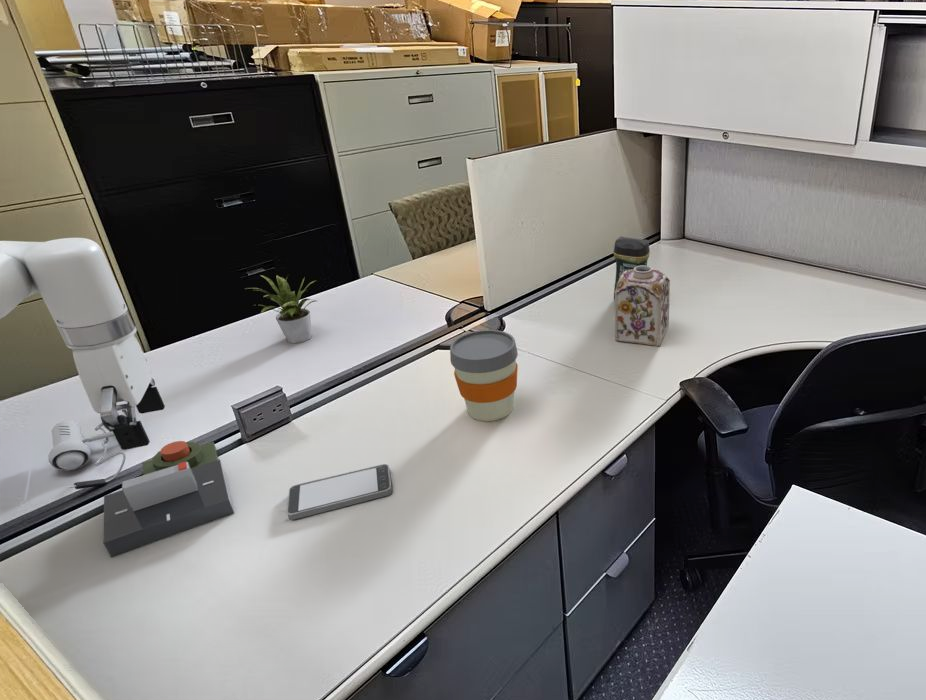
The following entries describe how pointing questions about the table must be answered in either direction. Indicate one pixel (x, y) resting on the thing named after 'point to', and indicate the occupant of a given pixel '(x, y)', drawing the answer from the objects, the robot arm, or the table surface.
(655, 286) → the decorative jar
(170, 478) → the bevelled grey block
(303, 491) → the smartphone
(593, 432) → the table surface
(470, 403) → the reusable coffee cup
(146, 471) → the button housing
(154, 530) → the dial base
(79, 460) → the clip-on lamp
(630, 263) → the coffee jar
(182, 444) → the button
